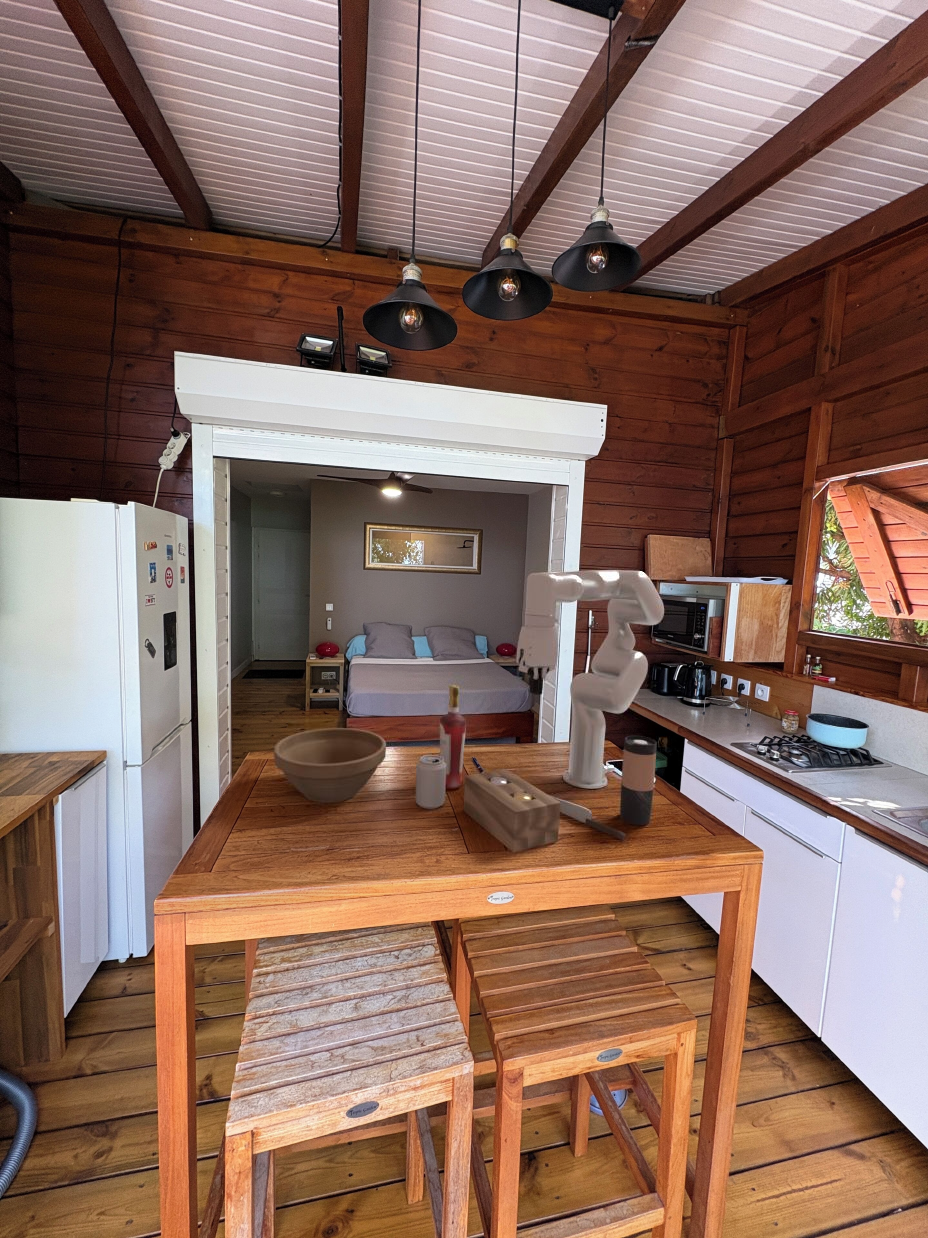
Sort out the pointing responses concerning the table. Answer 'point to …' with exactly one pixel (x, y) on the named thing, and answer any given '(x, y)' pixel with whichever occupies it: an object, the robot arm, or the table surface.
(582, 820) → the kitchen knife
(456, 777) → the liquor
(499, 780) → the steel peg
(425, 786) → the can
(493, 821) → the socket block
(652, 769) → the travel mug
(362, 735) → the brown mixing bowl
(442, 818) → the table surface
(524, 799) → the brass peg
